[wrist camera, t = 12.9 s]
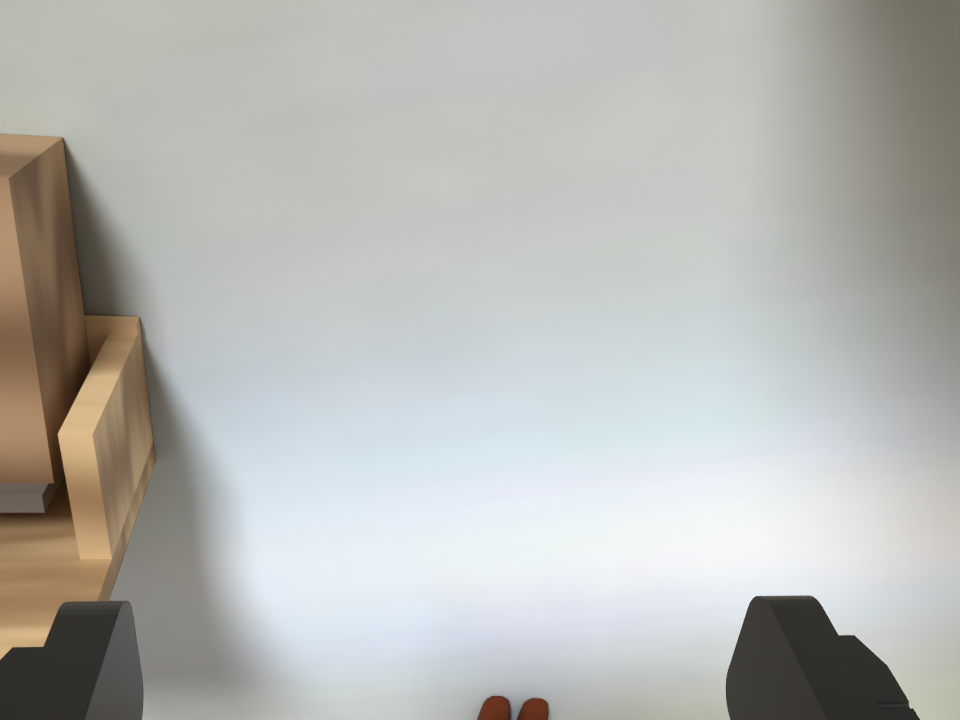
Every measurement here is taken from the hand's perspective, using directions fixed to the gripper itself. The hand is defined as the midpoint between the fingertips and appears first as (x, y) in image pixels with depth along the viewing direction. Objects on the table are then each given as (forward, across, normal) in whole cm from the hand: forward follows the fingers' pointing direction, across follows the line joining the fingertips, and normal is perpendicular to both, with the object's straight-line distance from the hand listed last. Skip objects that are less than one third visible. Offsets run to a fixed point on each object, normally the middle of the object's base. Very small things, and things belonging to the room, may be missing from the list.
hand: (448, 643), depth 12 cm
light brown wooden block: (+28, +15, +9) cm, 33 cm away
